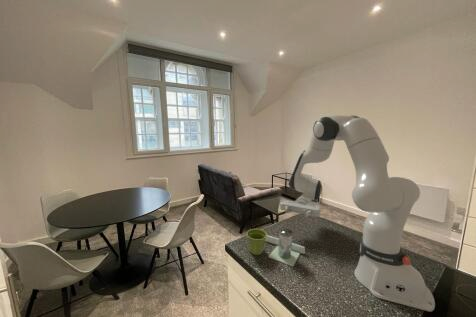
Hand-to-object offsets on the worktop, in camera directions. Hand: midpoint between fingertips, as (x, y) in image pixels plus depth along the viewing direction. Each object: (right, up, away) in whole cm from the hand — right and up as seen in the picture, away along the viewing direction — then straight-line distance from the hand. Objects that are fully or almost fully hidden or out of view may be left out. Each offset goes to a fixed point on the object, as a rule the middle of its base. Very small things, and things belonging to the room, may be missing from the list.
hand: (295, 213), depth 96 cm
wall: (-7, -16, -2) cm, 17 cm away
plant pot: (-20, -17, -5) cm, 26 cm away
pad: (-8, -17, -9) cm, 20 cm away
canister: (-8, -16, -9) cm, 20 cm away
